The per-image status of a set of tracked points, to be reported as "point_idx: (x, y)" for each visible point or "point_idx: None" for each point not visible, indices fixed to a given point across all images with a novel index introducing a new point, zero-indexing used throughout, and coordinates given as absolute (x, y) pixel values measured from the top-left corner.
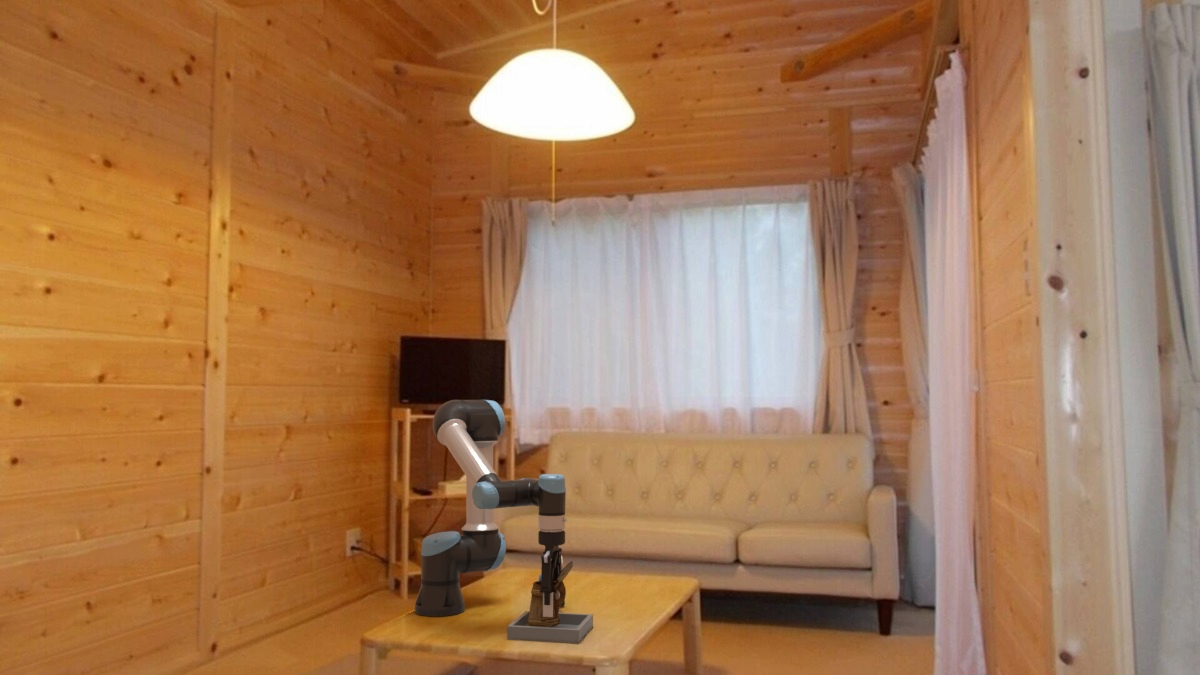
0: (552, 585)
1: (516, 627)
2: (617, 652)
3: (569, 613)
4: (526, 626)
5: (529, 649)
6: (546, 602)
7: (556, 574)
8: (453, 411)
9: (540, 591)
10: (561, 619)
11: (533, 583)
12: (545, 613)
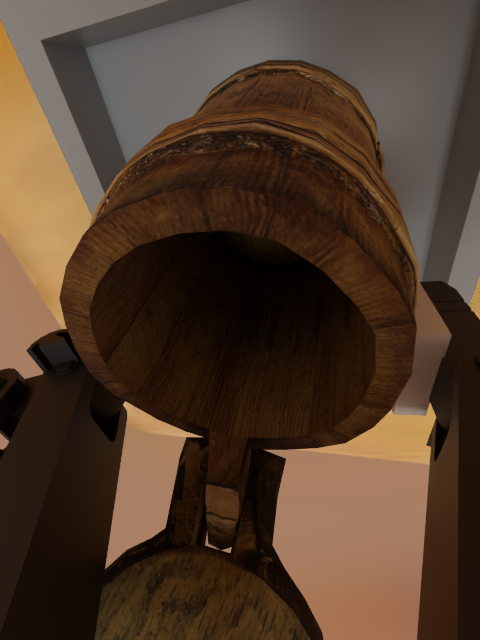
0: (119, 465)
1: (38, 95)
2: (163, 426)
3: (465, 290)
4: (84, 161)
5: (26, 228)
6: None
7: (426, 587)
8: None
9: (41, 345)
10: (444, 235)
11: (93, 225)
12: None
